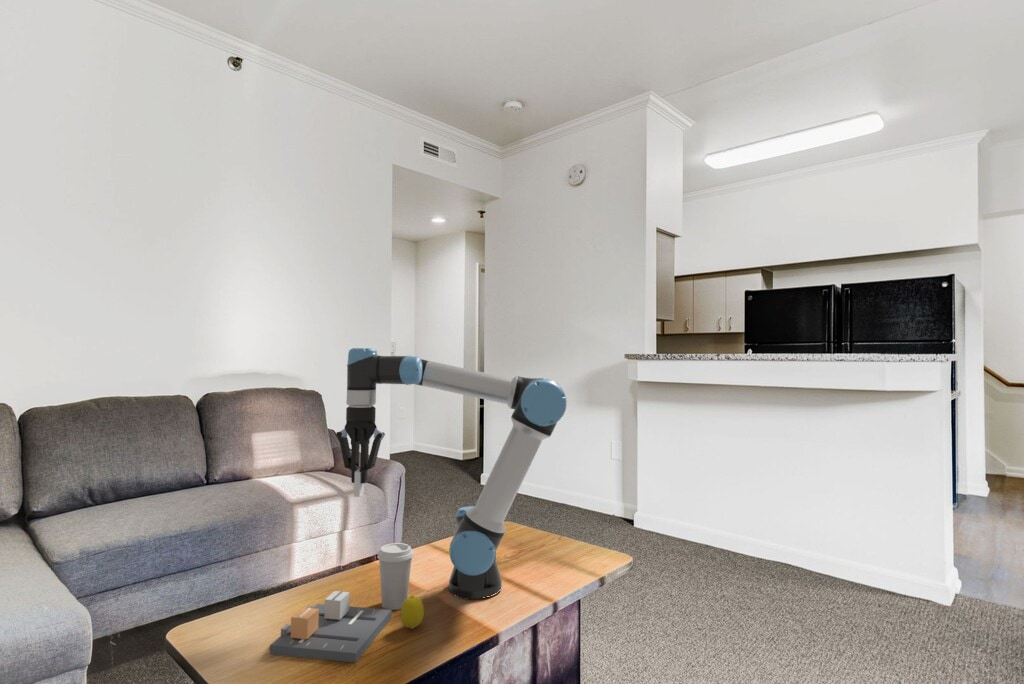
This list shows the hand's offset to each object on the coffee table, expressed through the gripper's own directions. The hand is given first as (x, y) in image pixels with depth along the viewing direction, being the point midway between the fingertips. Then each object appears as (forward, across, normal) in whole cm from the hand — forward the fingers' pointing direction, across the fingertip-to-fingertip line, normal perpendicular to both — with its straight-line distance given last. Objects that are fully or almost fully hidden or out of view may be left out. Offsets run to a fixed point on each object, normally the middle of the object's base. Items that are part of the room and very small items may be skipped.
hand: (358, 495), depth 145 cm
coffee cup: (+30, -9, -4) cm, 31 cm away
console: (+29, -1, +14) cm, 33 cm away
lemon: (+30, -18, +8) cm, 36 cm away
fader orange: (+27, +4, +19) cm, 34 cm away
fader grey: (+27, +1, +9) cm, 29 cm away
